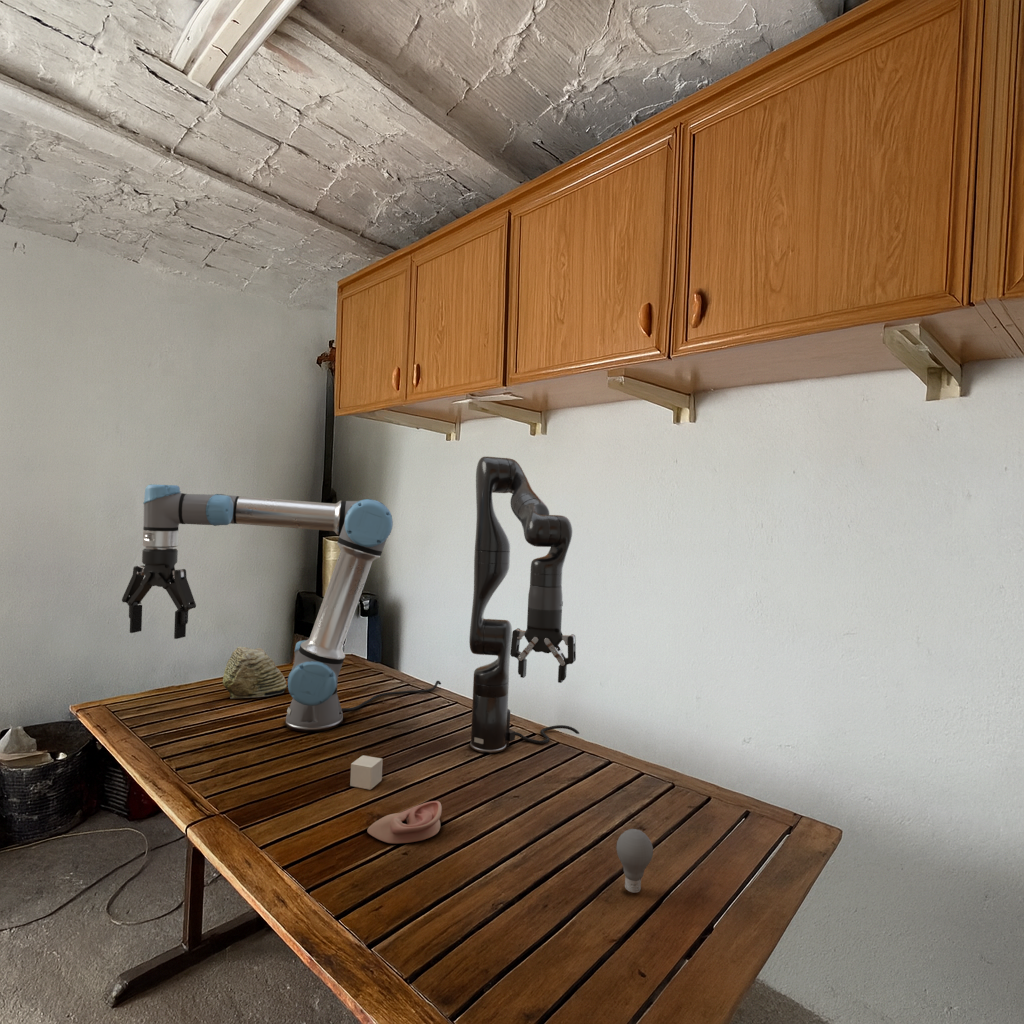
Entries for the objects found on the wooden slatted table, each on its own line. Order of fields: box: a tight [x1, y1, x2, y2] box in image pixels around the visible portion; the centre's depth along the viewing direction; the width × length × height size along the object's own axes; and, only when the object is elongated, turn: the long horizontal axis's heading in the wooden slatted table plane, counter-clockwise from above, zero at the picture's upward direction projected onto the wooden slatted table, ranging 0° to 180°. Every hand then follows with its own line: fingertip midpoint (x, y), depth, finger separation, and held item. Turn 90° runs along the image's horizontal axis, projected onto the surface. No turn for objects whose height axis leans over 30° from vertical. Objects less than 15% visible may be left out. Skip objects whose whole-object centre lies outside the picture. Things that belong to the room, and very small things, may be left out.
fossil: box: [222, 646, 288, 699], centre depth 198 cm, size 9×18×15 cm, turn 132°
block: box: [349, 754, 384, 790], centre depth 141 cm, size 5×5×5 cm
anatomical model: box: [366, 800, 443, 845], centre depth 122 cm, size 13×4×12 cm
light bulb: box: [615, 828, 654, 894], centre depth 106 cm, size 6×6×10 cm
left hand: (157, 634), depth 154 cm, fingers open, 13 cm apart
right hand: (541, 679), depth 139 cm, fingers open, 8 cm apart
